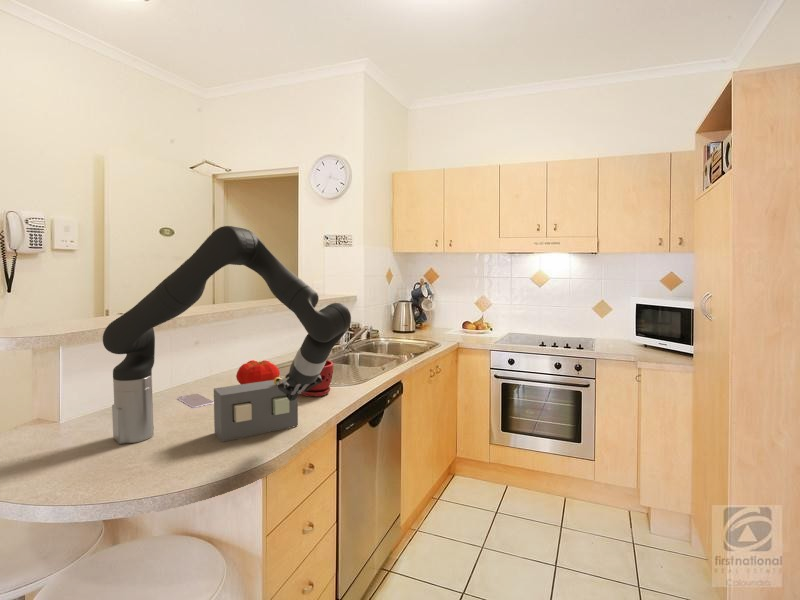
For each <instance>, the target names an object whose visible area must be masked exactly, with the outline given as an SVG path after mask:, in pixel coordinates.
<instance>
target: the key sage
mask: <svg viewBox="0 0 800 600" xmlns="http://www.w3.org/2000/svg"><path fill="white" fill-rule="evenodd" d="M272 413H273V414H275V415H279V414H284V413H289V399H288V398H287V396H280V397H274V398H272Z"/></svg>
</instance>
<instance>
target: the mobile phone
mask: <svg viewBox="0 0 800 600" xmlns="http://www.w3.org/2000/svg"><path fill="white" fill-rule="evenodd" d="M178 399H179V400H178ZM177 400H178V401H180V402H181V401H182V402H181V403H183V402H184V404H185V405H187V406H188V405H189V406H188V407H190V408H192V409H195V408H201V406H202V407H206V406H211V405H214V400H211V399H210V398H208V397H205V396H203V395H202V394H199V393H194V394H193V393H192V394H188V395H187V394H186V395H183V396H178V397H177ZM205 405H206V406H205Z"/></svg>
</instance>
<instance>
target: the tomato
mask: <svg viewBox="0 0 800 600" xmlns="http://www.w3.org/2000/svg"><path fill="white" fill-rule="evenodd" d="M280 375H281V374H280V369H279V367H277V366H276V365H275V364H274V363H273V362H270V361H269V360H262V361H258V360H254V359H253V360H248V361H247V362H246V363H243V364H242V365H241V366H239V368H238V370H237V372H236V375H235V377H236V380H237V382H238V383H239V385H241V384H248V383H255V382H262V381H269V380H274V379H275V378H276V377H280Z"/></svg>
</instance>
